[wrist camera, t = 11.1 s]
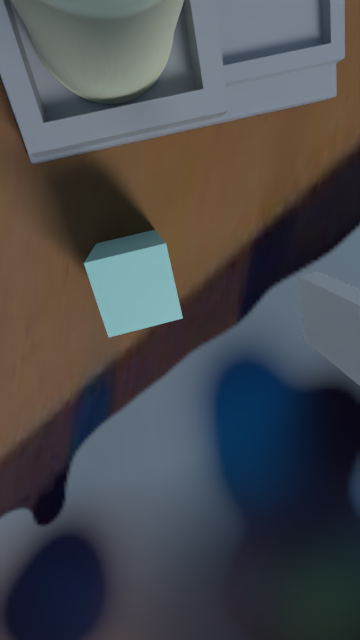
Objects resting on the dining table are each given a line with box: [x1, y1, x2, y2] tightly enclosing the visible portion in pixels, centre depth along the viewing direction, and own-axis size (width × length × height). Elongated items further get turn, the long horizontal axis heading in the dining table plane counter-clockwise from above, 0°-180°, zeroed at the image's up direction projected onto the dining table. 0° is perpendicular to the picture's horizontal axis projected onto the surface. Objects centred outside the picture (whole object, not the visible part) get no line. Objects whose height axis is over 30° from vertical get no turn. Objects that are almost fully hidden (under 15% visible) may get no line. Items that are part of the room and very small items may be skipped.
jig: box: [0, 0, 345, 164], centre depth 20 cm, size 23×14×3 cm, turn 102°
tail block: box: [84, 230, 183, 337], centre depth 24 cm, size 5×5×8 cm
